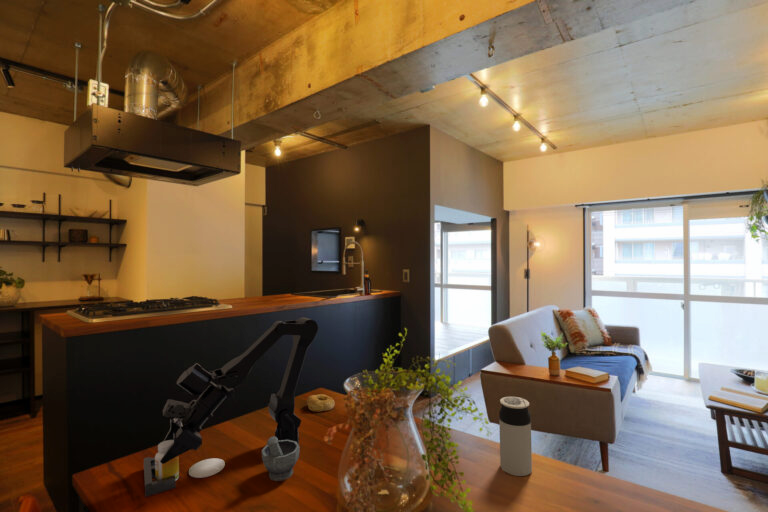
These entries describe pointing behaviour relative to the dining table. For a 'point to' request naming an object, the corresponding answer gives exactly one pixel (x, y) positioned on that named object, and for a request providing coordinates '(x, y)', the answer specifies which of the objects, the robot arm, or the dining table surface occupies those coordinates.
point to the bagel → (320, 403)
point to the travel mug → (515, 436)
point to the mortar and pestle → (280, 458)
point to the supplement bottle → (168, 467)
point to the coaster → (206, 468)
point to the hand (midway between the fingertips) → (160, 456)
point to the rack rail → (156, 485)
